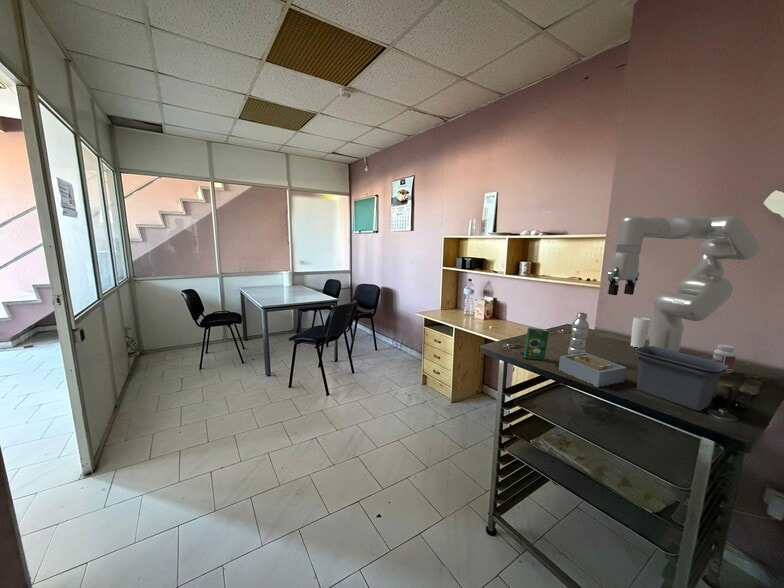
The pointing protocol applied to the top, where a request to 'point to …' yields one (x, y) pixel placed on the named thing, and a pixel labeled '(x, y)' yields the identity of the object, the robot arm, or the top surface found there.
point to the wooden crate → (593, 363)
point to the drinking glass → (639, 331)
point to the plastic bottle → (578, 334)
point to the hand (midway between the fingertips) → (620, 294)
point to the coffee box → (536, 343)
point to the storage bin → (678, 376)
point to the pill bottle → (725, 356)
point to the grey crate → (592, 371)
